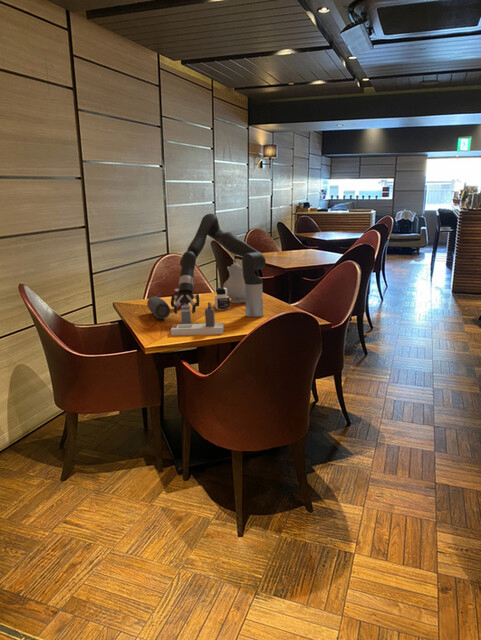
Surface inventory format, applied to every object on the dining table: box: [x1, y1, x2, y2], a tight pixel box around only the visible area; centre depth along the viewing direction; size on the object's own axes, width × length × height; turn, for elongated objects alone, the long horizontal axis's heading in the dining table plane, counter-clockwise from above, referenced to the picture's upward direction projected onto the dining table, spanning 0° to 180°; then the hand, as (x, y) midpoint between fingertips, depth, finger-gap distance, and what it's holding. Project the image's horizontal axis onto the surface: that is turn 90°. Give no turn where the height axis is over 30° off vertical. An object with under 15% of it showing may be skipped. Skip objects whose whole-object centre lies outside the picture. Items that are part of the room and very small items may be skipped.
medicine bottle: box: [214, 287, 231, 311], centre depth 276 cm, size 7×7×12 cm
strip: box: [170, 302, 225, 337], centre depth 226 cm, size 24×9×14 cm, turn 89°
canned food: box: [174, 288, 190, 310], centre depth 282 cm, size 8×8×11 cm
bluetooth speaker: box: [146, 295, 171, 320], centre depth 262 cm, size 23×9×10 cm, turn 21°
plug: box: [180, 304, 192, 324], centre depth 239 cm, size 4×4×10 cm
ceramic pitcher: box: [222, 259, 245, 304], centre depth 294 cm, size 22×20×25 cm
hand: (184, 313), depth 241 cm, fingers open, 8 cm apart
